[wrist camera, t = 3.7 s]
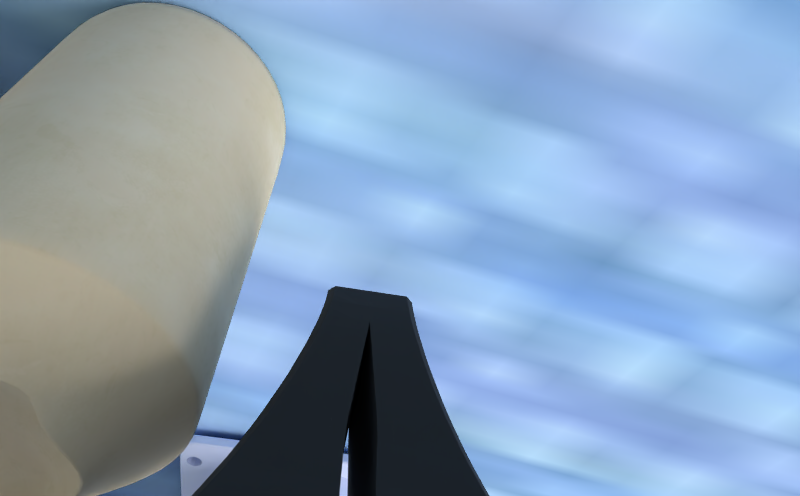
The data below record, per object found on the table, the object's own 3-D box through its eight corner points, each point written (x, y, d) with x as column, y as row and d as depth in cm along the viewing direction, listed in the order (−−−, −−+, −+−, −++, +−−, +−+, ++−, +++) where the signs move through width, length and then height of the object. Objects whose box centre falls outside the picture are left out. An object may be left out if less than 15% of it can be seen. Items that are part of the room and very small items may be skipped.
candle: (314, 47, 16) (204, 385, 8) (261, 232, 19) (145, 603, 11) (63, -39, 15) (-341, 250, 7) (51, 171, 18) (-237, 531, 10)
